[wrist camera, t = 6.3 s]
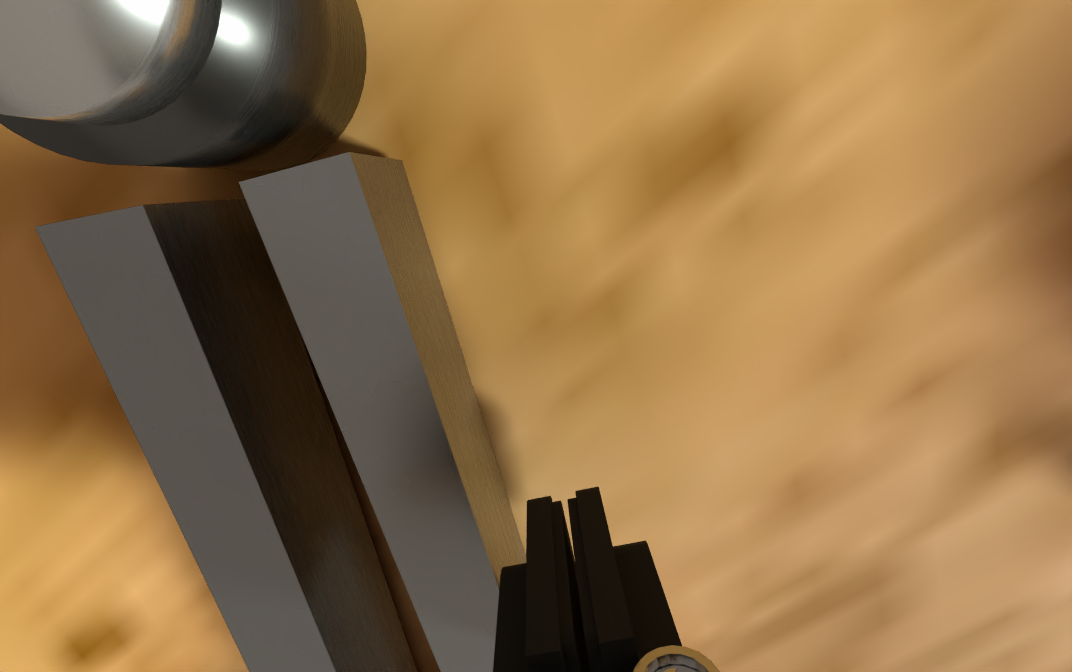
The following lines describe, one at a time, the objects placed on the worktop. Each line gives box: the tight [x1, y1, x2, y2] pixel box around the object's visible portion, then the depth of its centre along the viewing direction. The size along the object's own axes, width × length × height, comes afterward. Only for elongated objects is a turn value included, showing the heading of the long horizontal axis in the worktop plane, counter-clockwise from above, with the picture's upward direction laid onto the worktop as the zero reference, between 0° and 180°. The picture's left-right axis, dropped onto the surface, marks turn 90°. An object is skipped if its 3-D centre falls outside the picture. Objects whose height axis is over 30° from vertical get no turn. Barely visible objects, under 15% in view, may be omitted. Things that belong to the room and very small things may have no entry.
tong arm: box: [0, 0, 526, 672], centre depth 10 cm, size 24×5×5 cm, turn 14°
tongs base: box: [0, 0, 417, 672], centre depth 11 cm, size 24×6×4 cm, turn 11°
